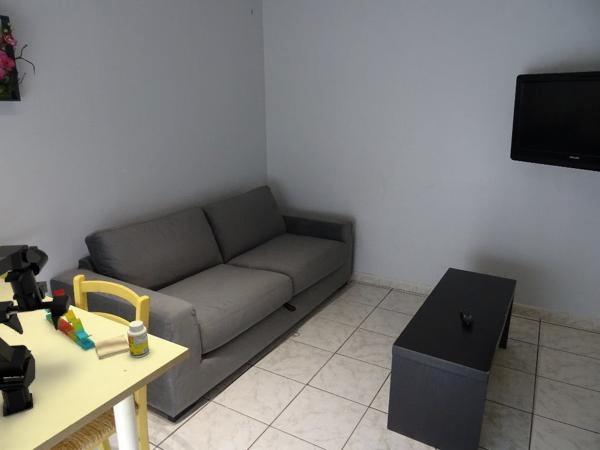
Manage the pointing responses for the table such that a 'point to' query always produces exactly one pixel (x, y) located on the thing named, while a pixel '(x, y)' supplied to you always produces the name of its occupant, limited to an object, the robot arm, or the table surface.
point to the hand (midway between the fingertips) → (40, 331)
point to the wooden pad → (111, 347)
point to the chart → (72, 327)
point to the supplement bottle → (137, 339)
